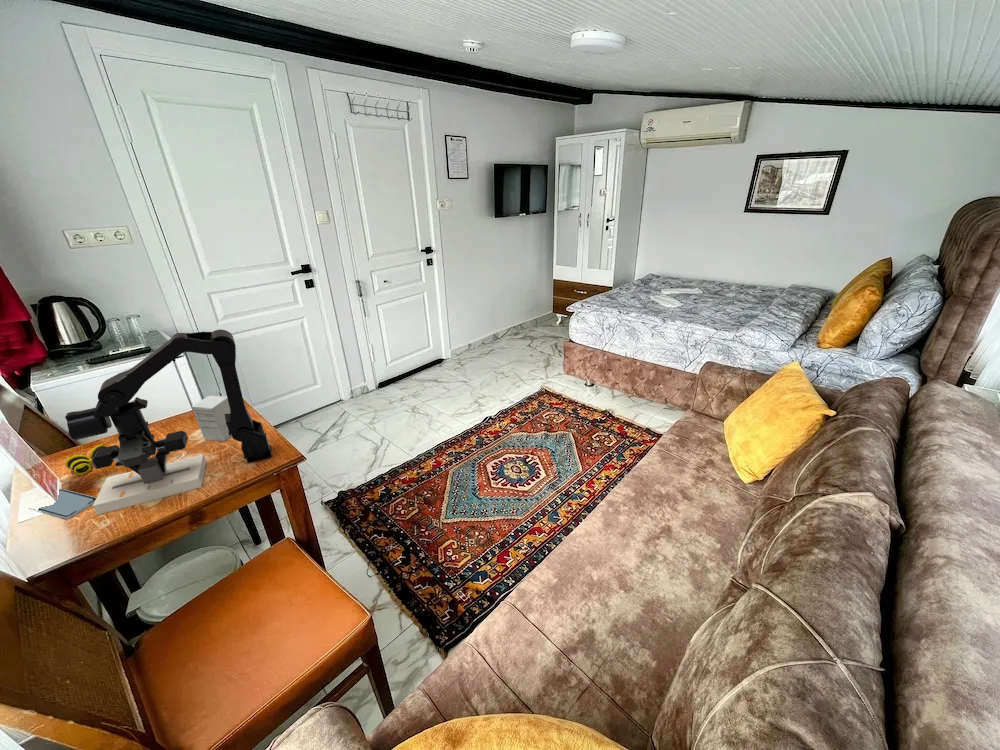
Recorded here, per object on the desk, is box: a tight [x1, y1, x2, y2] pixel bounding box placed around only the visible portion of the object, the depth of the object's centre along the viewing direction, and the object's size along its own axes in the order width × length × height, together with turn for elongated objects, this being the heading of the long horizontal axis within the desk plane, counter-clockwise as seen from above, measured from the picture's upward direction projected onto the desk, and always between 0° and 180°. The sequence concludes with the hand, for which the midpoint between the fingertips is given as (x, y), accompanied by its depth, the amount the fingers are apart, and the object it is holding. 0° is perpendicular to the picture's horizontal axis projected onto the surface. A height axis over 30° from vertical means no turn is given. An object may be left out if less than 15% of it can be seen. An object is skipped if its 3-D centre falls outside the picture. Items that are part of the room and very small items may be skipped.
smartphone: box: [37, 488, 97, 520], centre depth 106 cm, size 7×1×15 cm
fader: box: [138, 456, 165, 484], centre depth 110 cm, size 4×5×4 cm
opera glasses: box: [64, 444, 108, 476], centre depth 119 cm, size 10×5×5 cm, turn 154°
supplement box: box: [191, 395, 232, 442], centre depth 132 cm, size 7×7×13 cm
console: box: [92, 454, 207, 516], centre depth 111 cm, size 22×12×3 cm, turn 117°
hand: (154, 474), depth 110 cm, fingers closed on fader, 4 cm apart
